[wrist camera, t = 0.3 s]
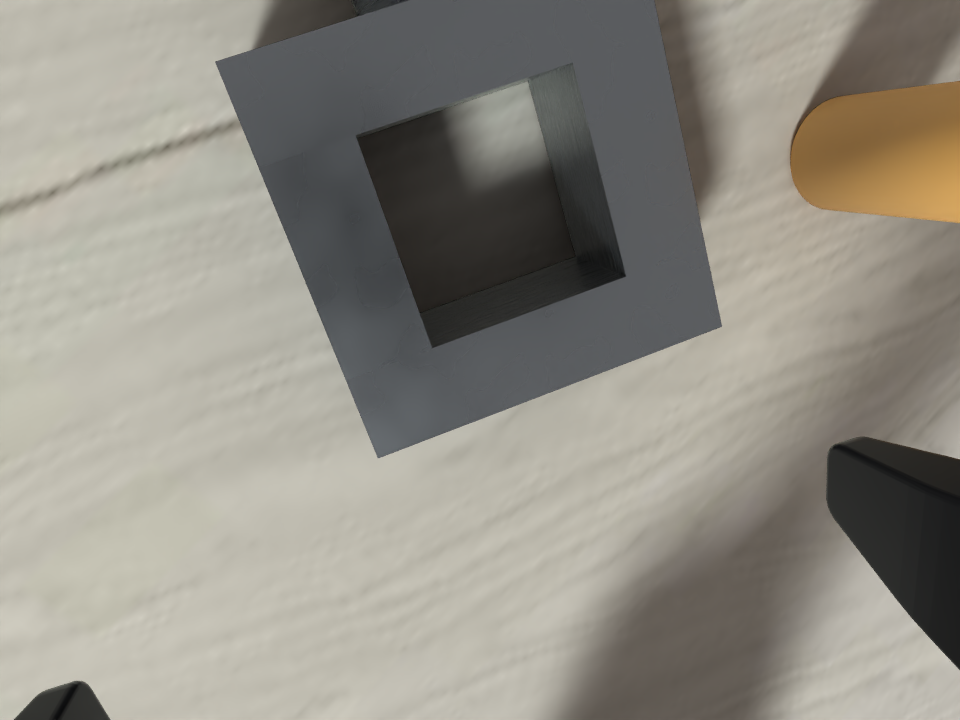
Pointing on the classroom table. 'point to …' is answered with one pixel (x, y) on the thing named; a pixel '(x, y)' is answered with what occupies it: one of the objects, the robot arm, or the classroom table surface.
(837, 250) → the classroom table surface
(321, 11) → the classroom table surface
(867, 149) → the orange cylinder
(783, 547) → the classroom table surface
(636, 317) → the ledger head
